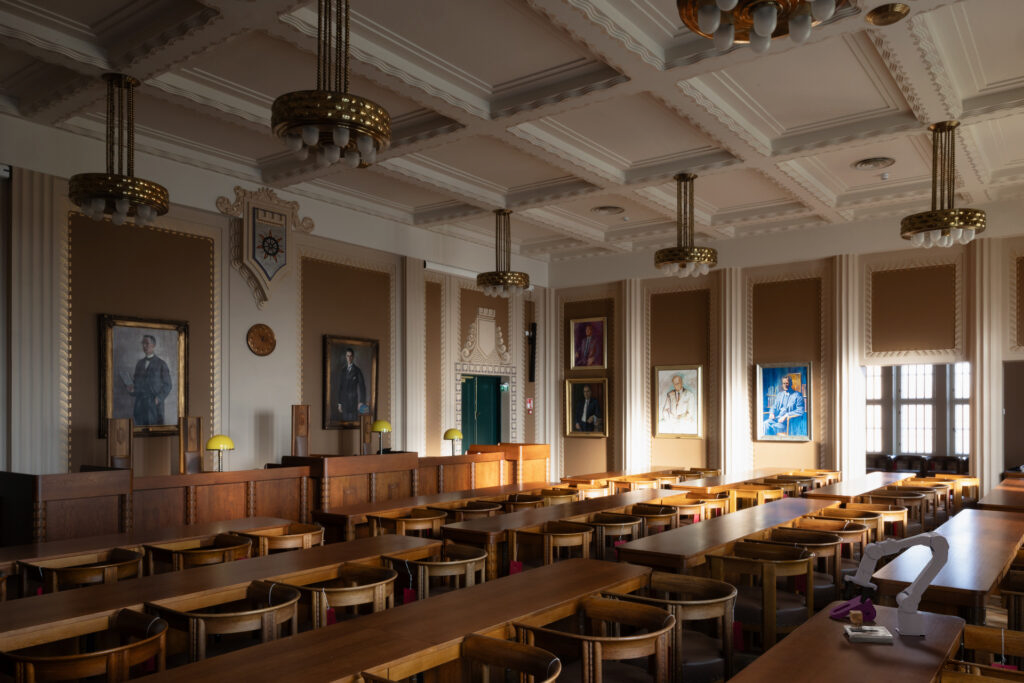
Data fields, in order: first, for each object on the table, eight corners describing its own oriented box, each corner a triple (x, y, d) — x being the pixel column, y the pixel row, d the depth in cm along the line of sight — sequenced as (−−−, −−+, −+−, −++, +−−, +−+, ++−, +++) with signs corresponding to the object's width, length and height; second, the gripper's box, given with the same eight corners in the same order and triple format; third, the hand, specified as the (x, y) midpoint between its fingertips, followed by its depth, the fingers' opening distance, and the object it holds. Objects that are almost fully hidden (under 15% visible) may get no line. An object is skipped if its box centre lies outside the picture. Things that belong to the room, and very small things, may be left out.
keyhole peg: (860, 628, 333) (859, 610, 333) (863, 631, 329) (862, 613, 329) (850, 628, 334) (849, 610, 334) (853, 631, 330) (852, 613, 330)
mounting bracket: (841, 634, 345) (879, 617, 342) (832, 616, 346) (870, 599, 343) (836, 627, 354) (873, 611, 352) (827, 610, 355) (864, 593, 353)
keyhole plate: (884, 634, 326) (884, 626, 326) (893, 643, 314) (892, 636, 314) (844, 632, 329) (843, 625, 329) (850, 642, 317) (850, 634, 317)
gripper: (874, 572, 337) (862, 601, 337) (845, 562, 334) (833, 591, 335) (884, 578, 330) (872, 608, 330) (854, 568, 327) (843, 598, 328)
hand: (853, 600), depth 332 cm, fingers open, 7 cm apart
